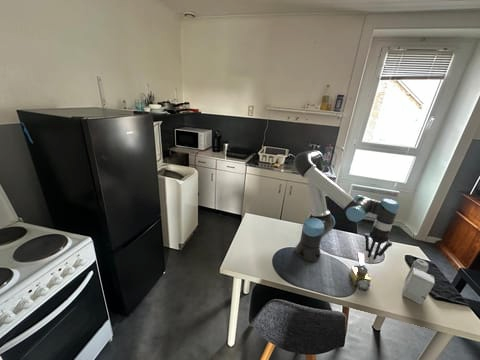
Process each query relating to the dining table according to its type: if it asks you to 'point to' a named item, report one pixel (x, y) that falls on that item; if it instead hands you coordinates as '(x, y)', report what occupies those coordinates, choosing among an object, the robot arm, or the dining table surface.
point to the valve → (360, 279)
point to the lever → (361, 264)
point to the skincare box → (418, 286)
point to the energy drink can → (419, 266)
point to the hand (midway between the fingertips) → (369, 262)
